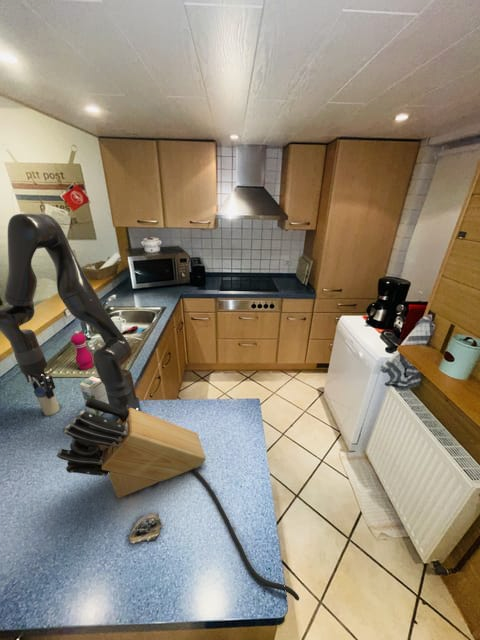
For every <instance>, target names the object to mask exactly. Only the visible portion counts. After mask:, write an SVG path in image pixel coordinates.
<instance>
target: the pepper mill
mask: <svg viewBox="0 0 480 640" xmlns="http://www.w3.org/2000/svg"><path fill="white" fill-rule="evenodd" d="M86 340H87V337H86V335H85V334H84V333H82V332H79V331H78V330H76V331H74V334H73V335H71V337H70V342H71V343H72V344H73V347H74V348H75V349H76V355H75V362H76V364H78V369H79V370H89V369H91V368H93V367H94V366H95V364H94V360H93V354H92V352H91V351H89V350H88V348H87V341H86Z"/></svg>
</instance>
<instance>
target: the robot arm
mask: <svg viewBox="0 0 480 640" xmlns="http://www.w3.org/2000/svg"><path fill="white" fill-rule="evenodd" d="M39 249H45V251H46V252H47V254H48V255H49V257H50V259H51V261H52V263H53V266H54V268H55V269H54V270H55V280H56V290H57V294H58V296H59V298H60V300H61V301H62V303H63V304H64V306H65V307H66V310H67V311H69V313H70V314H71V316H73V318H76V319H77V320H79V321H81V322H82V323H84V324H86V325H88V326H90V327H91V328H93V329H94V330H95V331H96V332H97V333H98V334H99V336H100V337H101V339H102V340H103V344H102V345H100V347H98V348H97V349H96V350H95V351H94V353H93V354H92V356H93V359H92V361H93V364H94V367H95V370H96V373H97V375H98V378H99V379H100V380H101V382H102V383H103V384H104V387H105V391H106V395H107V399H108V403H109V404H110V405H112V406H114V407H116V408H117V409H119V410H122V411H124V410H125V409H126V410H128V409H129V408H133V409H136V410H138V411H141V412H142V409H141V405H140V400H139V397H137V394H136V388H135V384H134V379H133V375H132V372H131V371H130V370H129V369H125V368H122V366H123V365H124V364H125V363H126V362H127V361H128V360H129V359H130V358H131V357H132V353H133V351H132V347H131V345H130V343H129V342H128V340H127V339H126V337H125V336H124V334H123V333H122V332H121V330H120V329H119V328H118V326H117V325H116V324H115V323H114V321H113V319H112V318H111V316H110V314H109V313H108V311H107V310H106V308H105V306H104V305H103V303H102V301H101V300H100V297H99V296H98V294H97V292H96V291H95V289H94V287H93V285H92V284H91V282H90V281H89V279H88V278H87V276H86V274H85V272H84V271H83V269H82V267H81V265H80V263H79V261H78V260H77V258H76V255H75V254H74V251H73V249H72V247H71V245H70V243H69V240H68V238H67V236H66V234H65V232H64V229H63V228H62V227H61V225H60V223H59V222H58V221H57V220H56V219H55V218H54V217H53V216H51V215H49V214H47V213H40V212H39V213H16V214H14V215H12V216H11V217H10V219H9V220H8V224H7V260H8V262H7V263H8V268H7V269H8V270H7V271H8V272H7V280H6V283H5V287H4V291H3V299H4V302H5V303H7V304H8V305H7V306H5V307H3V308H0V332H1V334H2V335H3V336H4V337H5V339H7V340H8V342H9V344H10V346H11V349H12V351H13V354H14V358H15V361H16V363H17V366H18V368H19V370H20V372H21V374H22V375H24V378H25V379H26V381H27V382H26V383H30V385H31V386H32V388H33V391H34V390H35V389H36V388H37V387H42V388H43V390H44V391H45V394H46V396H47V398H48V399H50V398H52V397H53V396H54V394H55V392H53V391H54V389H56V385H55V382H54V378H53V376H52V375H51V374H49V375H48V374H47V372H46V371H45V369H46V368H47V367H48V362H47V359H46V357H45V354H44V351H43V349H42V347H41V345H40V344H39V340H38V338H37V336H36V333H35V332H34V330H32V329H30V328H29V329H28V328H26V329H21V328H20V327H21V326H22V325H24V324H27V323H28V322H30V321H31V320H33V318H34V315H35V304H34V303H35V302H34V297H35V294H36V290H37V285H38V280H37V279H38V278H37V276H36V273H35V271H34V269H33V266H32V262H33V258H34V255H35V253H36V251H37V250H39ZM44 385H45V386H44ZM52 389H53V390H52ZM111 416H112V419H113V421H115V422H117V421H118V420H119V419H120V418H119V417H118V416H115V415H112V414H111ZM190 471H191V472H192V473H193V474H194V475H195V476H196V477H197V478H198V479H199V480H200V481H201V482H202V484H203V485H204V486H205V488H206V489H207V491H208V492H209V494H210V495H211V497H212V499H213V500H214V502H215V504H216V506H217V508H218V510H219V512H220V514H221V516H222V518H223V520H224V523H225V524H226V527H227V529H228V531H229V533H230V535H231V537H232V539H233V541H234V543H235V545H236V548H237V549H238V551H239V553H240V556H241V558H242V560H243V562H244V564H245V566H246V568H247V570H248V571H249V572H250V574H251V575H252V577H253V578H255V580H257V582H259V583H260V584H262V585H263V586H265V587H268V588H271V589H275V590H279V591H283V592H285V590H286V593H288V594H289V595H290V596H292V597H293V598H294V600H295V601H300V596H299V594H298V593H297V592H296V591H295V590H294V589H293V588H292V587H290V586H288V585H286V584H283V583H278V582H273V581H270V580H267V579H265V578H263V577H262V576H261V575H260V574H259V573H258V572H256V570H255V569H254V568H253V566H252V565H251V563H250V561H249V559H248V557H247V555H246V552H245V550H244V549H243V546H242V543H241V542H240V540H239V538H238V537H237V535H236V533H235V530H234V528H233V526H232V524H231V522H230V520H229V517H228V516H227V514H226V512H225V510H224V508H223V506H222V504H221V502H220V501H219V499H218V497H217V495H216V493H215V492H214V490H213V489H212V487H211V486H210V485H209V483H208V482H207V481H206V479H205V478H204V477H203V475H201V473H199V471H198V470H196V468H195V469H192V470H190ZM284 585H285V587H284Z"/></svg>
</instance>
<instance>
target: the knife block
mask: <svg viewBox="0 0 480 640" xmlns="http://www.w3.org/2000/svg"><path fill="white" fill-rule="evenodd" d="M84 406H85V407H86V408H87V407H88V408H91V409H94V410H98V411H101V412H104V413H103V414H108V415H111V416H112V415H115V416H118V417H119V418H120V419H119V420H118V421H117V422H115V421H114V420H112V419H111V418H107V417H105V416H102V415H101V416H98V415H94V414H90V413H88V411H87V410H84V409H82V410H81V411H80V412H79V413H78V414H77V415H76V417H75V418H74V420H73V421H72V422H71V423H68V424H67V425H65V426H64V427H63V429H62V433H64V434H65V435H68V436H69V437H71V438H72V440H71V442H70V444H69V448H70V449H65V448H60V450H59V451H58V452H57V453H56V457H57V458H59V459H60V460H63V461H66V464H67V466H65V467H66V468H65V471H66V472H67V473H69V474H71V473H73V474H74V473H75V474H82V475H88V476H99V477H106V476H108V475H109V479H110V482H111V485H112V487H113V490H114V492H115V495H116V498H117V499H120V498H123V497H125V496H127V495H130V494H133V493H136V492H139V491H140V490H143V489H145V488H148V487H150V486H153V485H155V484H157V483H159V482H164V481H166V480H169V479H172V478H174V477H177V476H179V475H182V474H184V473H187V472H190V471H191V470H192V469H195V470H196V469H197V468H199V467H201V466H202V465H203V463H205V461H206V459H207V458H206V455H205V451H204V449H203V446H202V442H201V440H200V437H199V433H198V432H196V431H193V430H190V429H189V428H185V427H183V426H180V425H178V424H176V423H172V422H170V421H168V420H164V419H162V418H159V417H157V416H154V415H151V414H149V413H146V412H144V411H142V410H141V411H138V410H136V409H133V408H129V409H128V410H126V409H125V410H124V411H122V410H119V409H117V408H116V407H114V406H112V405H110V404H107V403H105V402H102V401H99V400H96V399H93V398H89V399H88V400H87V401H86V404H85V403H84Z"/></svg>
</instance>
